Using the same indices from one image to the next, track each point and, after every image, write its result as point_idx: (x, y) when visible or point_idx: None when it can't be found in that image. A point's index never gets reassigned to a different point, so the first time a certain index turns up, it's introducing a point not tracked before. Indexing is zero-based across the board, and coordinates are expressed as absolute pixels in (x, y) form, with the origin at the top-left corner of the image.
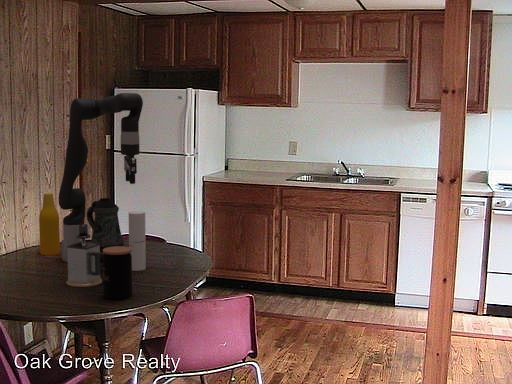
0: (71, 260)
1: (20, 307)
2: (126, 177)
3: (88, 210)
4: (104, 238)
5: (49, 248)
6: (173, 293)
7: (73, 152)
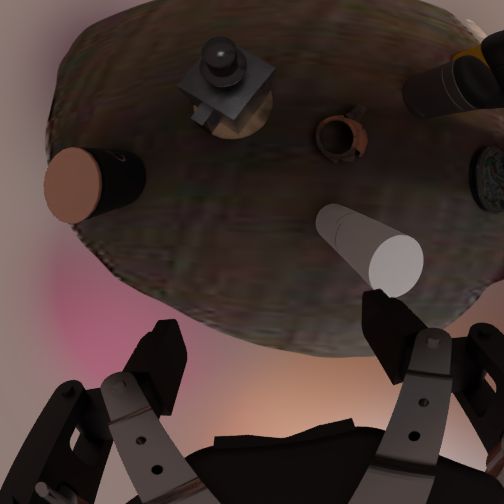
0: None
1: (99, 36)
2: (376, 311)
3: None
4: (489, 171)
5: None
6: (131, 280)
7: None
